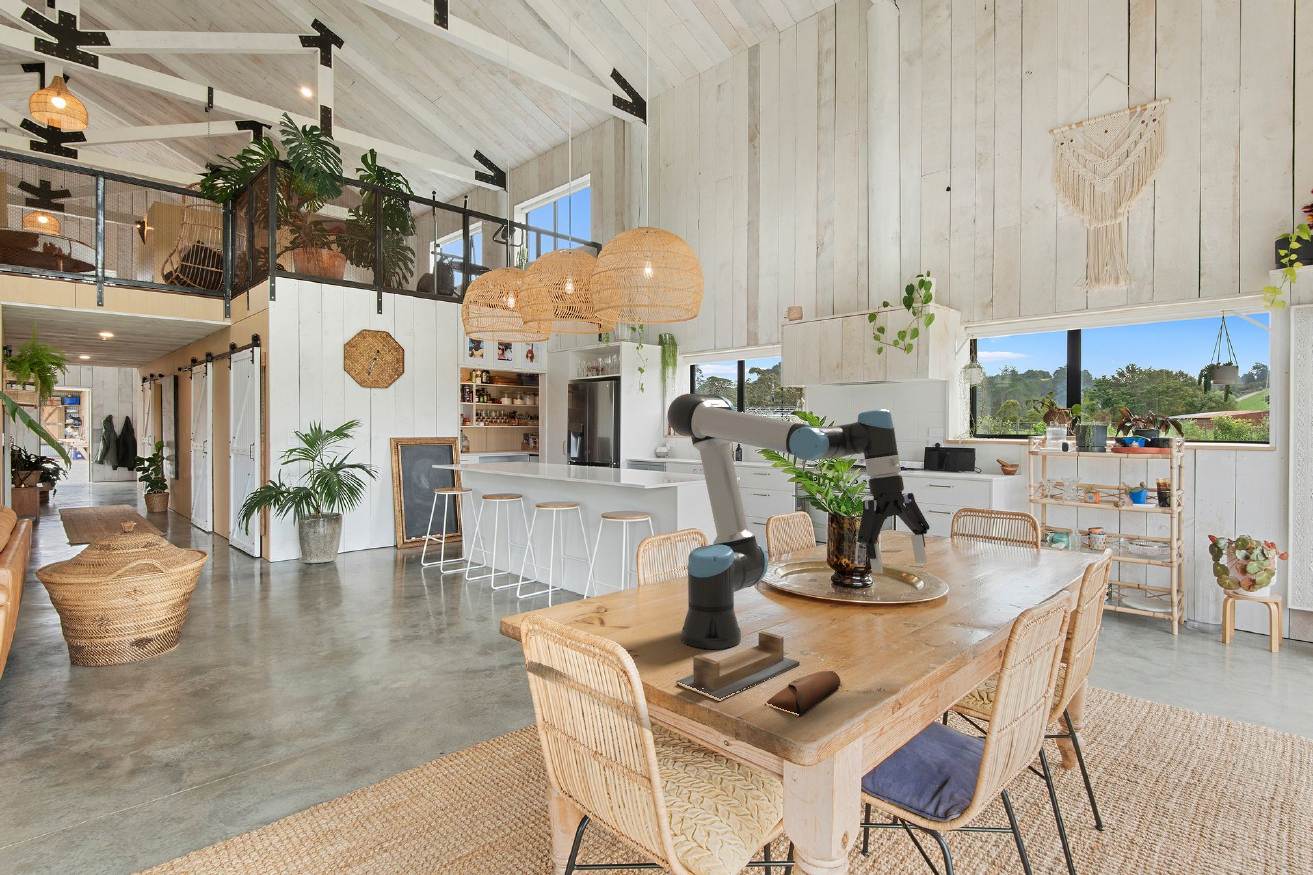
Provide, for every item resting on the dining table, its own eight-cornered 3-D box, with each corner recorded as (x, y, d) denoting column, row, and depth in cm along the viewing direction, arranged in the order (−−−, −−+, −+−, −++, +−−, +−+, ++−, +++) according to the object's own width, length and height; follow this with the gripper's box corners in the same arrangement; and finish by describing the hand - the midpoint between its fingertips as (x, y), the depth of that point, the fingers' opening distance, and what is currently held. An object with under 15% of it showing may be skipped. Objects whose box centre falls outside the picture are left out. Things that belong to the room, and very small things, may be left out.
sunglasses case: (803, 677, 144) (818, 654, 141) (829, 700, 140) (845, 678, 138) (761, 705, 130) (777, 681, 128) (789, 732, 126) (805, 707, 124)
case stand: (676, 684, 140) (676, 655, 140) (757, 652, 160) (757, 626, 160) (719, 701, 132) (719, 670, 132) (799, 665, 151) (799, 637, 151)
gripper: (854, 481, 144) (870, 578, 143) (935, 468, 155) (951, 558, 154) (832, 483, 151) (847, 576, 149) (911, 471, 162) (925, 557, 160)
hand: (899, 567), depth 152 cm, fingers open, 13 cm apart
